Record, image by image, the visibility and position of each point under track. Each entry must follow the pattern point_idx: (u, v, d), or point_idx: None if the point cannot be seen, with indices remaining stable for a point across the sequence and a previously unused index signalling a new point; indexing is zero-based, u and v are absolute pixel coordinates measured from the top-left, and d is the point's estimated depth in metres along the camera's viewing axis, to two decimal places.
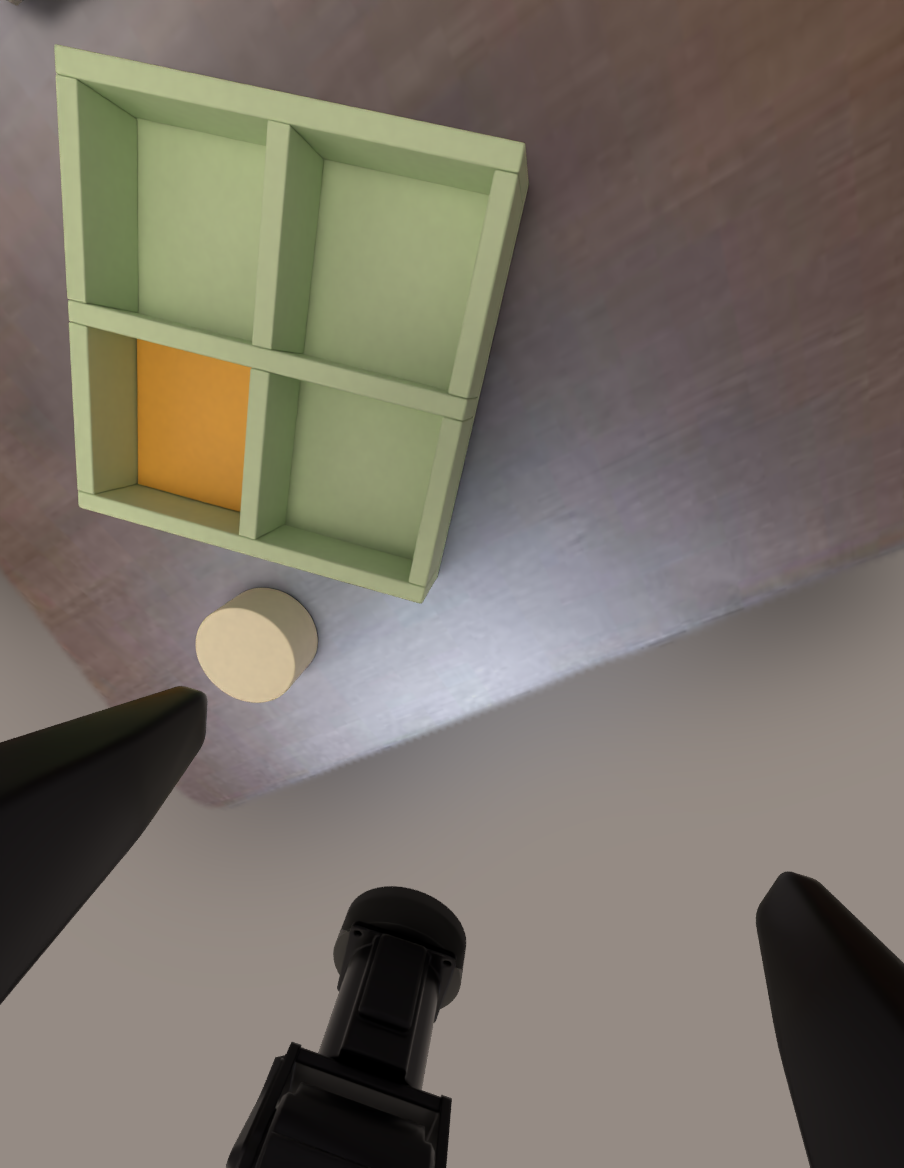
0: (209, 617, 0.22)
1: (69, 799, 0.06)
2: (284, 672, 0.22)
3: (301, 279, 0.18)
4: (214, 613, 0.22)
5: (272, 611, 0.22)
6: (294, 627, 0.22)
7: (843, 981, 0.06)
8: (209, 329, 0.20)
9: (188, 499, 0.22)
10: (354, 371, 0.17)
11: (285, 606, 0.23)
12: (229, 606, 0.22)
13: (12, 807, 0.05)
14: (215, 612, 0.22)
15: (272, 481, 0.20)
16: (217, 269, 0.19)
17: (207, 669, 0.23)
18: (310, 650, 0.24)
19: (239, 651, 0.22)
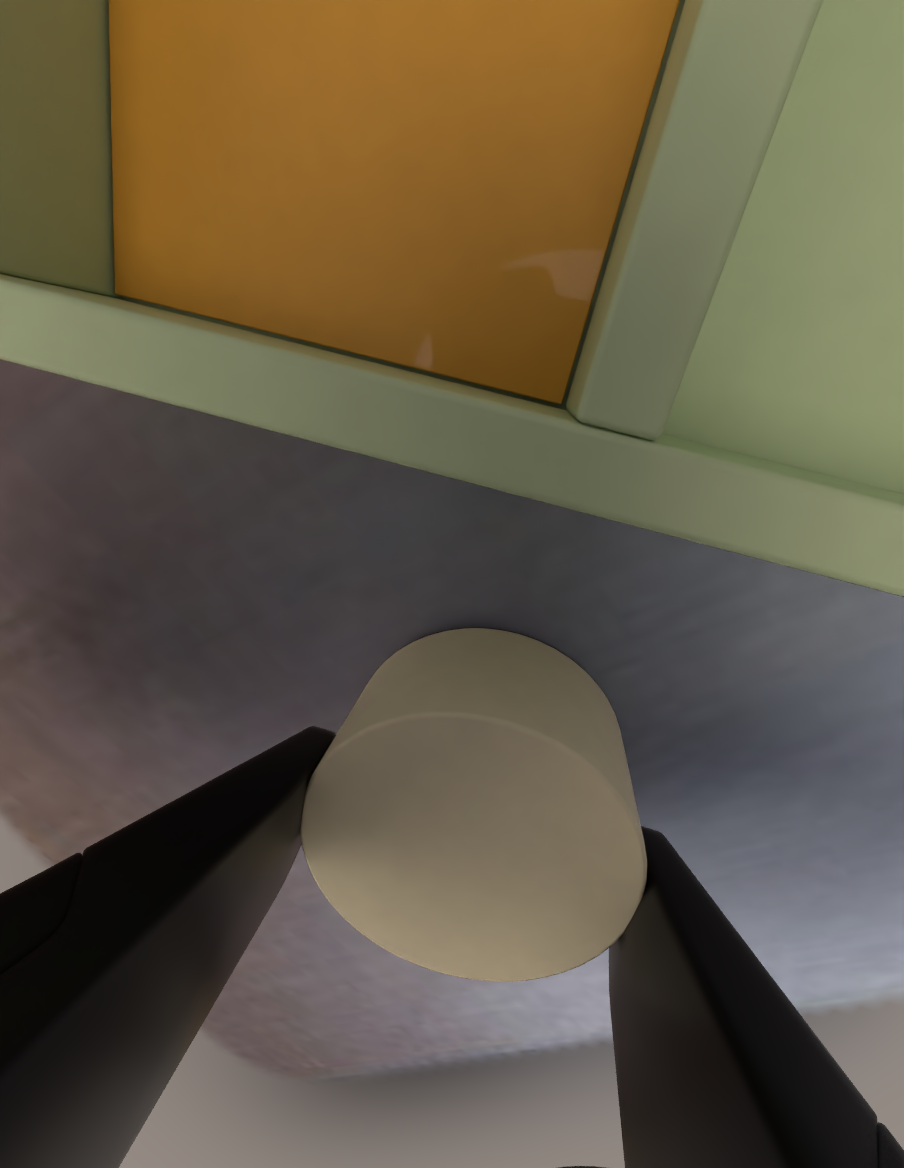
0: (357, 740, 0.06)
1: (247, 857, 0.06)
2: (597, 916, 0.07)
3: None
4: (377, 729, 0.06)
5: (567, 719, 0.07)
6: (621, 764, 0.07)
7: (654, 921, 0.06)
8: None
9: (283, 340, 0.07)
10: None
11: (576, 691, 0.07)
12: (430, 706, 0.06)
13: (211, 873, 0.05)
14: (381, 726, 0.06)
15: None
16: None
17: (333, 885, 0.07)
18: None
19: (448, 848, 0.07)
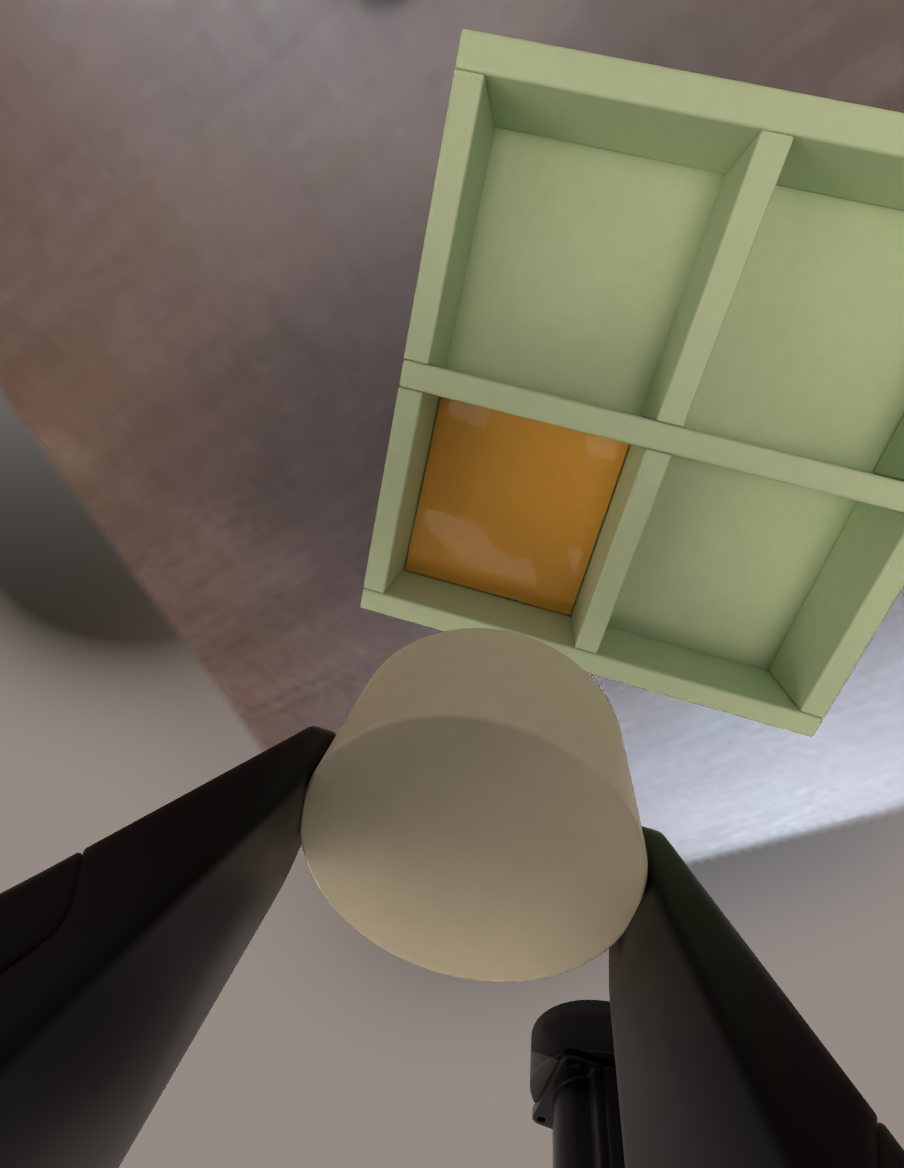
0: (357, 741, 0.06)
1: (247, 858, 0.06)
2: (597, 916, 0.07)
3: None
4: (377, 729, 0.06)
5: (568, 719, 0.07)
6: (622, 764, 0.07)
7: (654, 921, 0.06)
8: (538, 389, 0.16)
9: (468, 588, 0.18)
10: (796, 456, 0.13)
11: (576, 691, 0.07)
12: (430, 706, 0.06)
13: (211, 874, 0.05)
14: (381, 726, 0.06)
15: None
16: (566, 317, 0.15)
17: (333, 886, 0.07)
18: None
19: (448, 848, 0.07)
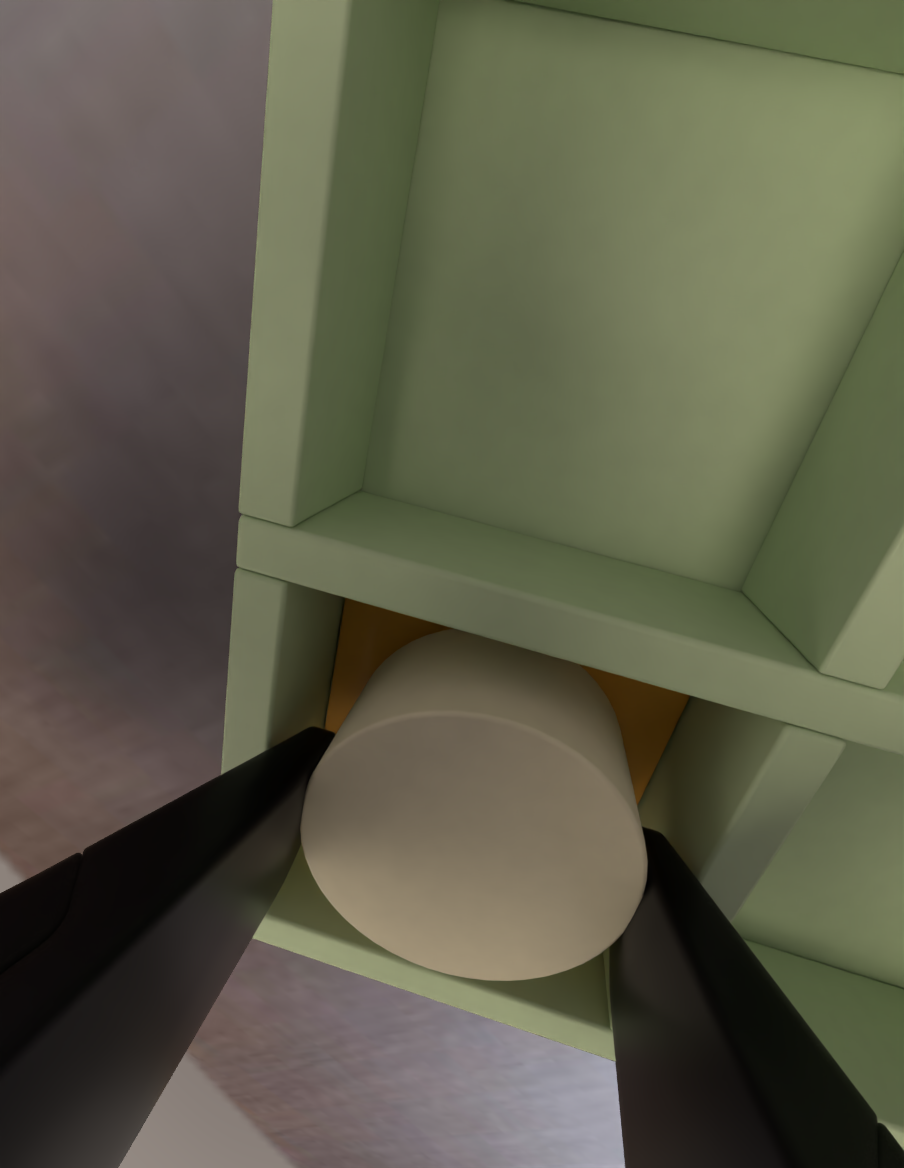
0: (357, 739, 0.06)
1: (246, 858, 0.06)
2: (597, 914, 0.07)
3: None
4: (377, 727, 0.06)
5: (568, 717, 0.07)
6: (622, 763, 0.07)
7: (654, 921, 0.06)
8: (540, 534, 0.08)
9: None
10: None
11: (576, 690, 0.07)
12: (431, 704, 0.06)
13: (211, 874, 0.05)
14: (381, 724, 0.06)
15: None
16: (595, 402, 0.07)
17: (333, 885, 0.07)
18: None
19: (448, 847, 0.07)
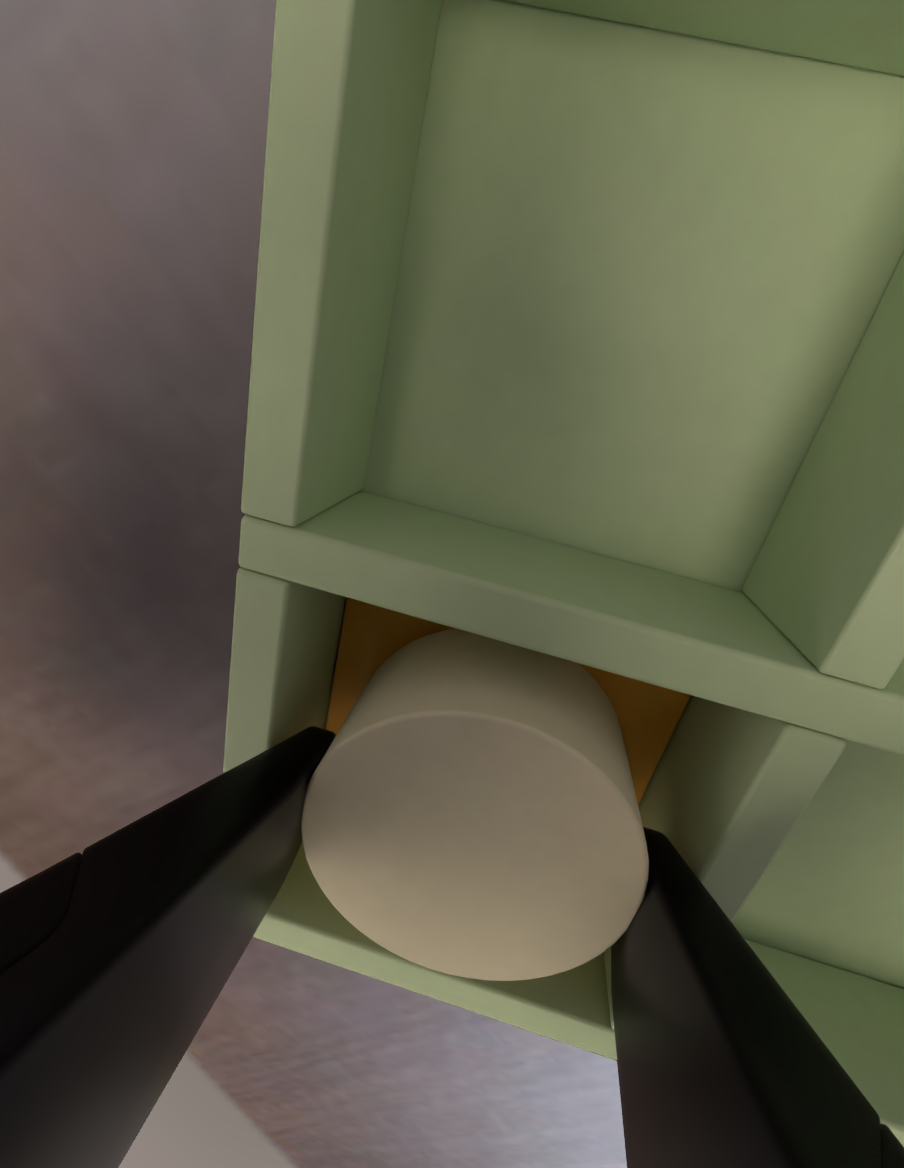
0: (358, 740, 0.06)
1: (247, 857, 0.06)
2: (598, 914, 0.07)
3: None
4: (378, 728, 0.06)
5: (569, 717, 0.07)
6: (623, 763, 0.07)
7: (656, 921, 0.06)
8: (541, 534, 0.08)
9: None
10: None
11: (577, 690, 0.07)
12: (432, 705, 0.06)
13: (211, 873, 0.05)
14: (382, 725, 0.06)
15: None
16: (596, 402, 0.07)
17: (334, 885, 0.07)
18: None
19: (450, 847, 0.07)
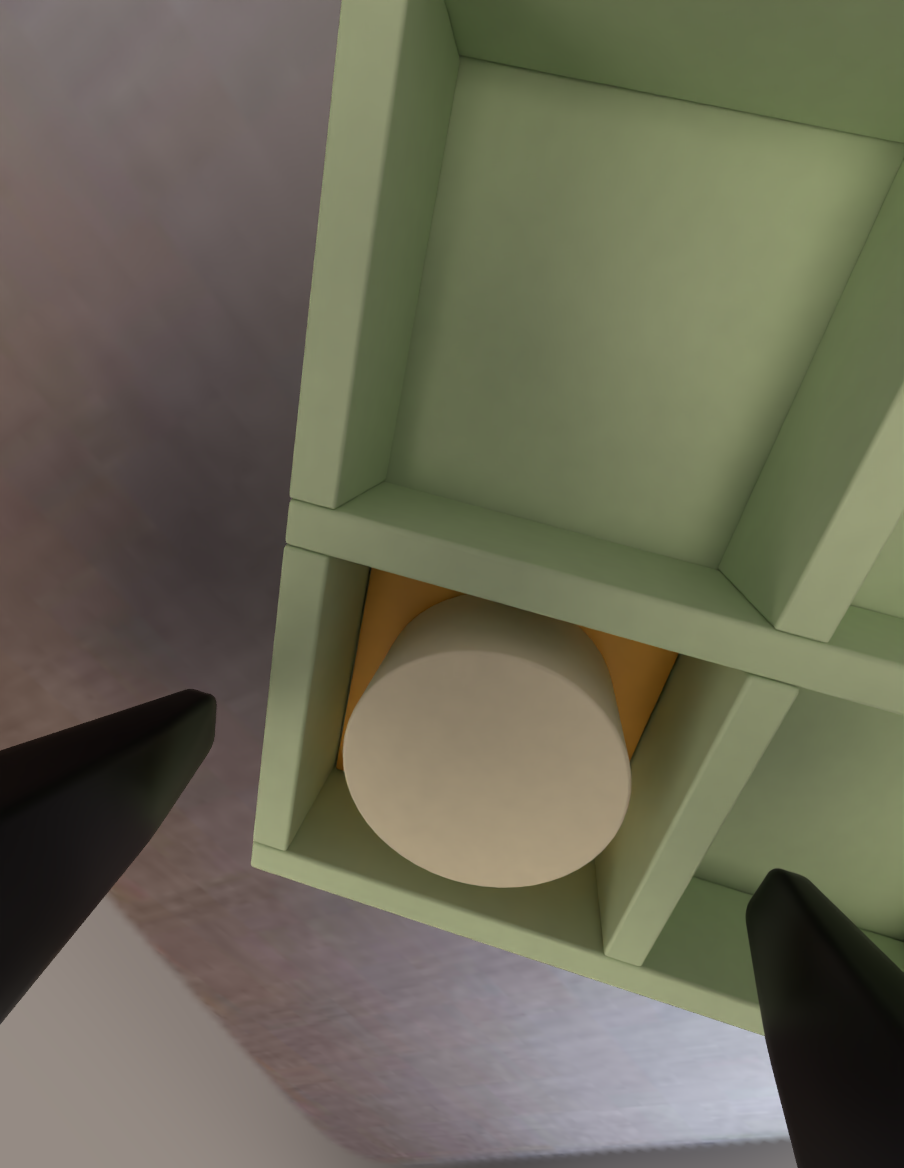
0: (393, 676, 0.08)
1: (81, 803, 0.06)
2: (590, 824, 0.08)
3: None
4: (410, 666, 0.08)
5: (566, 659, 0.08)
6: (611, 700, 0.08)
7: (829, 977, 0.06)
8: (543, 519, 0.09)
9: None
10: None
11: (573, 642, 0.09)
12: (454, 646, 0.08)
13: (26, 811, 0.05)
14: (413, 663, 0.08)
15: None
16: (591, 404, 0.08)
17: (369, 805, 0.09)
18: None
19: (467, 768, 0.08)
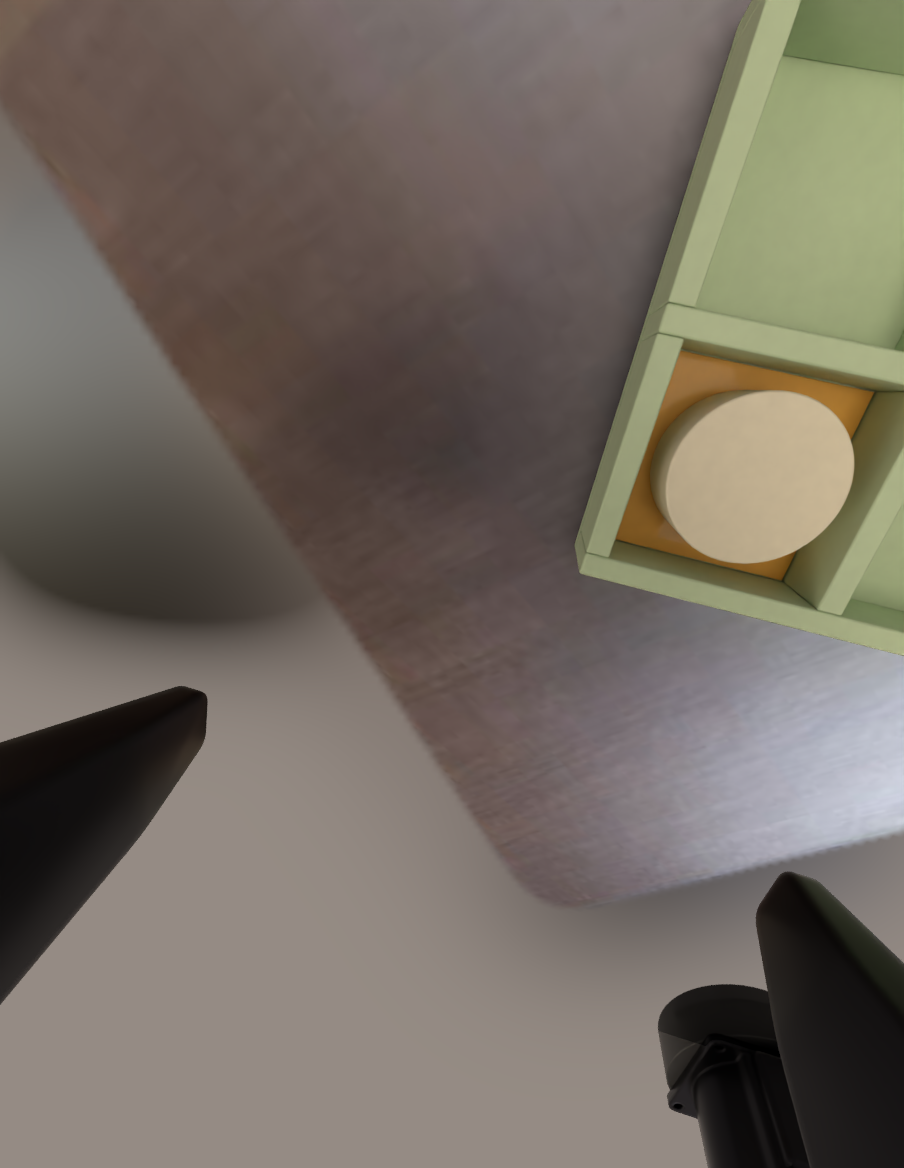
0: (713, 413, 0.13)
1: (69, 799, 0.06)
2: (824, 505, 0.14)
3: None
4: (725, 405, 0.13)
5: None
6: None
7: (843, 981, 0.06)
8: None
9: (672, 555, 0.17)
10: None
11: None
12: (752, 392, 0.13)
13: (12, 807, 0.05)
14: (727, 403, 0.13)
15: None
16: (816, 259, 0.14)
17: (679, 510, 0.14)
18: None
19: (750, 473, 0.14)
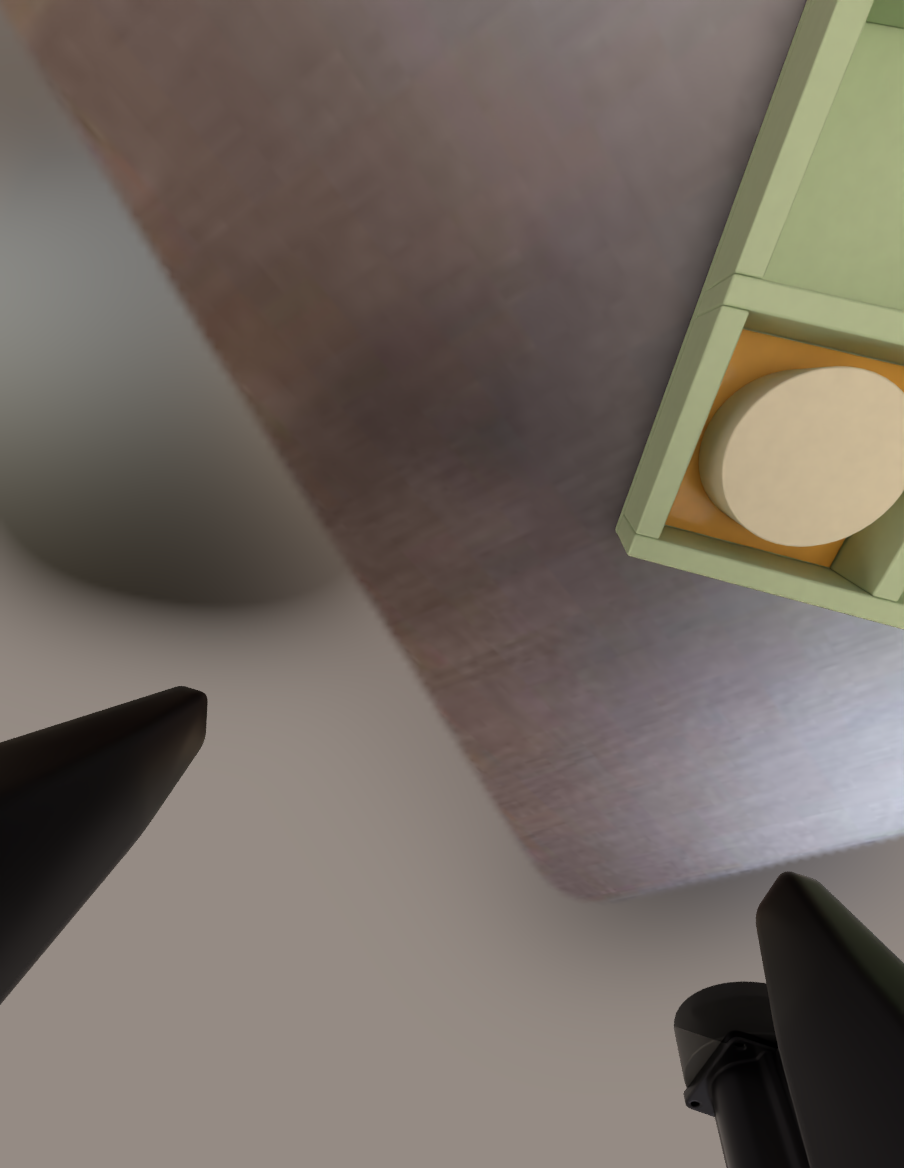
0: (776, 390, 0.13)
1: (69, 799, 0.06)
2: (887, 486, 0.13)
3: None
4: (789, 381, 0.13)
5: None
6: None
7: (843, 981, 0.06)
8: None
9: (717, 540, 0.17)
10: None
11: None
12: (817, 368, 0.13)
13: (12, 807, 0.05)
14: (791, 379, 0.13)
15: None
16: (881, 234, 0.14)
17: (735, 490, 0.14)
18: None
19: (811, 452, 0.13)
